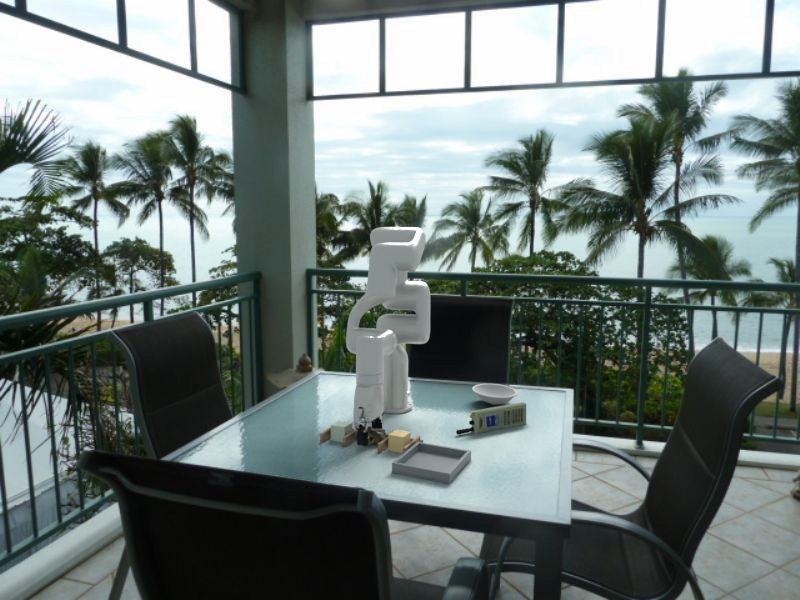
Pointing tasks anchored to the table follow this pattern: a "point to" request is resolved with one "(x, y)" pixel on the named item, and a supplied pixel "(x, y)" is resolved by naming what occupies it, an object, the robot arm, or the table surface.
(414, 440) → the rack
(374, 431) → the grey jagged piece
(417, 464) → the tray
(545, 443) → the table surface
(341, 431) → the sage block
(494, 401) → the dish
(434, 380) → the table surface
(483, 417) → the handheld radio
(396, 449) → the ochre block
